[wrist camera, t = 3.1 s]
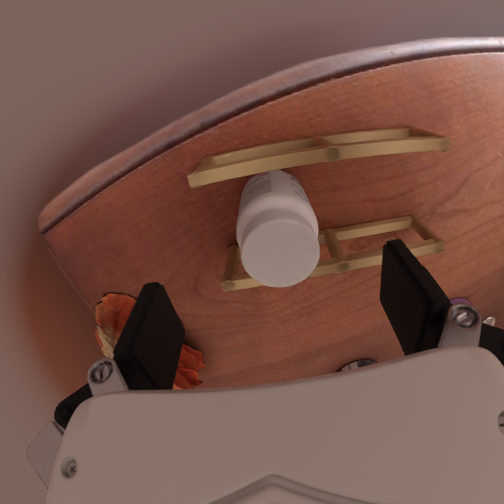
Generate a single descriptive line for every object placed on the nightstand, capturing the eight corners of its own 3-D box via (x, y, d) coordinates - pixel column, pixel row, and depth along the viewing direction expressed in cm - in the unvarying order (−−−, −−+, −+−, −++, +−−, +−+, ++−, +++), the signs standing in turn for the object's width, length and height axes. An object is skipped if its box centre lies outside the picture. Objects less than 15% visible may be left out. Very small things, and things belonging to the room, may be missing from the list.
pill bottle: (240, 224, 22) (230, 291, 15) (242, 165, 20) (232, 208, 13) (300, 228, 23) (318, 295, 15) (307, 170, 20) (335, 215, 13)
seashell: (160, 266, 27) (69, 304, 29) (117, 342, 17) (24, 363, 20) (234, 376, 33) (143, 392, 36) (228, 450, 24) (125, 451, 26)
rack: (414, 125, 18) (450, 136, 13) (415, 223, 22) (443, 252, 18) (202, 156, 20) (185, 174, 15) (230, 255, 24) (224, 293, 20)
